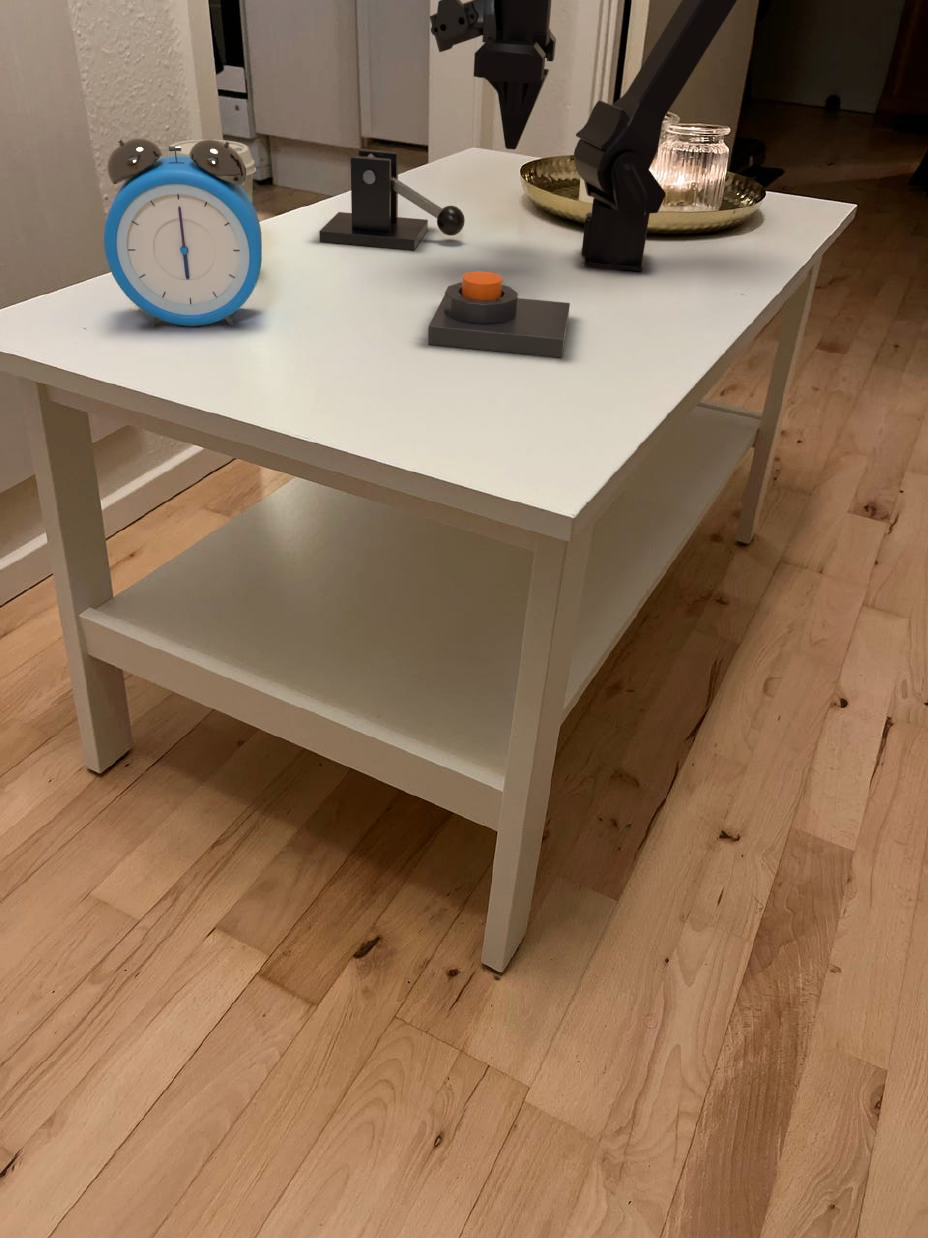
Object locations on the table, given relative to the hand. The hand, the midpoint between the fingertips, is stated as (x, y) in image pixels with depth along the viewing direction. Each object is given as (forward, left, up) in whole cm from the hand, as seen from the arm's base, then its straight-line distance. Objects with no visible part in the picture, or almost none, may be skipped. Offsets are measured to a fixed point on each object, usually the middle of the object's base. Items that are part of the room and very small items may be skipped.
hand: (510, 148), depth 101 cm
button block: (-2, +20, -12) cm, 23 cm away
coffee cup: (+28, +11, -12) cm, 32 cm away
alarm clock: (+26, +24, -12) cm, 37 cm away
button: (0, +20, -9) cm, 22 cm away
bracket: (+16, -8, -12) cm, 22 cm away
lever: (+12, -8, -9) cm, 17 cm away
